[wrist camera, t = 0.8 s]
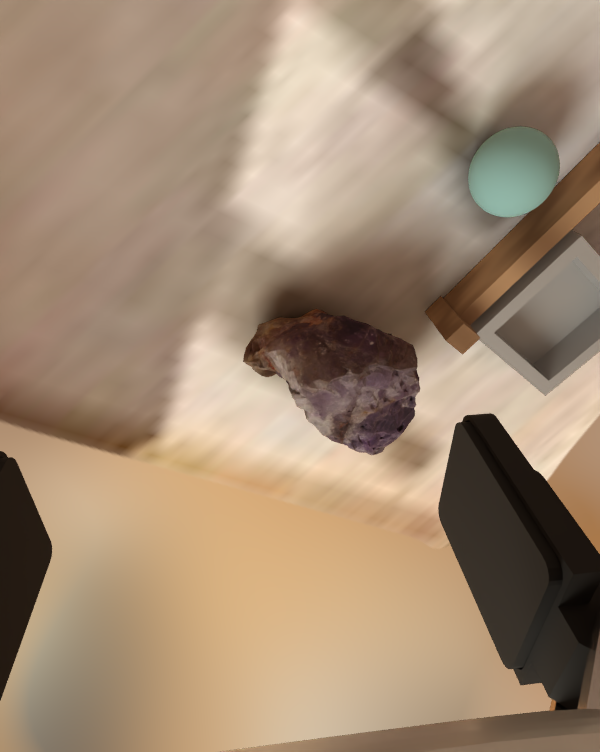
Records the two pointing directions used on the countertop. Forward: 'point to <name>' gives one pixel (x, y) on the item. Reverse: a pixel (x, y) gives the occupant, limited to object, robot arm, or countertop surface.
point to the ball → (513, 171)
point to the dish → (548, 315)
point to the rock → (341, 376)
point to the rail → (517, 253)
